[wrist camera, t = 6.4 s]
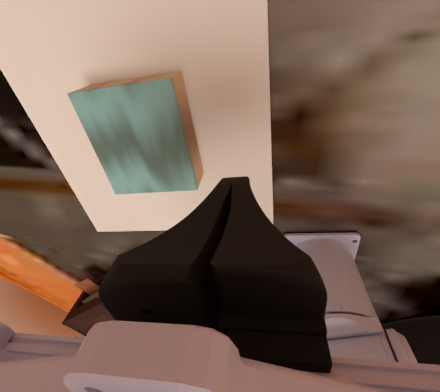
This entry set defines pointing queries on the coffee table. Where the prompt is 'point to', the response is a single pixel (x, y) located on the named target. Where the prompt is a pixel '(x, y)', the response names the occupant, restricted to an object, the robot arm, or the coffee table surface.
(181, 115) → the tile
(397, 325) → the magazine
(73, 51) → the mat
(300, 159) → the coffee table surface
